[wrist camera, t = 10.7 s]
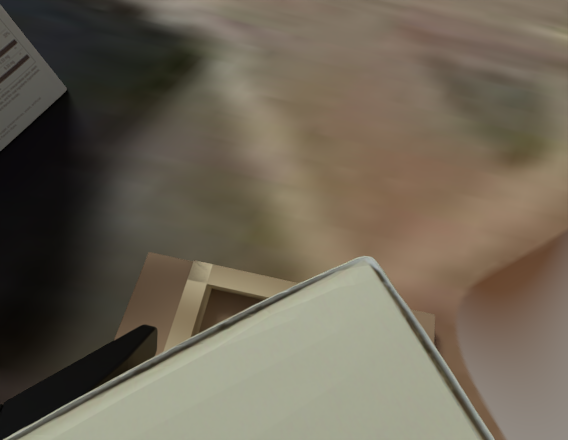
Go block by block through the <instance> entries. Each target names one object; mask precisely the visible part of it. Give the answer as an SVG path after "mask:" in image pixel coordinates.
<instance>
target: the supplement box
mask: <svg viewBox="0 0 568 440" xmlns="http://www.w3.org/2000/svg"><path fill="white" fill-rule="evenodd" d="M66 90H67V88H66V87H65V86H64V84H63V83H62V82H61V81H60V79H59V78H58V77H57V76H56V74H55V73H54V72H53V71H52V69H51V68H50V67H49V66H48V64H47V63H46V62H45V61H44V59H43V58H42V57H41V56H40V54H39V53H38V52H37V51H36V49H35V48H34V47H33V45H32V44H31V43H30V42H29V40H28V39H27V38H26V37H25V35H24V34H23V33H22V32H21V30H20V29H19V28H18V27H17V25H16V24H15V23H14V22H13V20H12V19H11V18H10V16H9V15H8V14H7V13H6V11H5V10H4V9H3V8H2V6H1V5H0V151H1V150H2V149H3V148H4V147H6V146H7V145H8V144H9V143H10V142H11V141H12V140H13V139H14V138H16V137H17V136H18V135H19V134H20V133H21V132H22V131H23V130H24V129H25V128H27V127H28V126H29V125H30V124H31V123H32V122H33V121H34V120H35V119H36V118H37V117H39V116H40V115H41V114H42V113H43V112H44V111H45V110H46V109H47V108H48V107H49V106H51V105H52V104H53V103H54V102H55V101H56V100H57V99H58V98H59V97H60V96H61V95H62V94H64V93H65V92H66Z"/></svg>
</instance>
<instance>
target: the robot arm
mask: <svg viewBox="0 0 568 440" xmlns="http://www.w3.org/2000/svg"><path fill="white" fill-rule="evenodd" d="M157 335H158V331H157V328H156V327H154V326H150V325H145V324H144V325H141V326H139V327H137V328H135V329H134V330H132V331H130V332H128V333H126V334H125V335H123V336H121V337H119V338H118V339H116V340H114V341H112V342H110V343H109V344H107V345H105V346H103V347H102V348H100V349H98V350H96V351H94V352H93V353H91V354H89V355H87V356H86V357H84V358H82V359H80V360H78V361H77V362H75V363H73V364H71V365H70V366H68V367H66V368H64V369H62V370H61V371H59V372H57V373H55V374H54V375H52V376H50V377H48V378H46V379H45V380H43V381H41V382H39V383H38V384H36V385H34V386H32V387H30V388H29V389H27V390H25V391H23V392H22V393H20V394H18V395H16V396H14V397H13V398H11V399H9V400H7V401H6V402H5V403H4V404H3V405H2V404H0V440H3V439H5V438H7V437H9V436H10V435H12V434H14V433H16V432H17V431H19V430H21V429H23V428H25V427H27V426H29V425H31V424H33V423H35V422H36V421H38V420H40V419H41V418H43V417H45V416H47V415H48V414H50V413H52V412H54V411H55V410H57V409H59V408H60V407H62V406H64V405H66V404H68V403H70V402H71V401H73V400H75V399H77V398H79V397H81V396H83V395H84V394H86V393H88V392H90V391H92V390H93V389H95V388H97V387H99V386H101V385H103V384H104V383H106V382H108V381H110V380H112V379H113V378H115V377H117V376H119V375H121V374H123V373H125V372H127V371H128V370H130V369H132V368H134V367H136V366H138V365H140V364H141V363H143V362H145V361H147V360H149V359H151V358H153V357H155V354H156V351H157Z"/></svg>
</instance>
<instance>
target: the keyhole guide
mask: <svg viewBox="0 0 568 440" xmlns="http://www.w3.org/2000/svg"><path fill="white" fill-rule="evenodd" d="M297 284H299V283H295V282H291V281H286V280H281V279H277V278H272V277H268V276H263V275H259V274H254V273H249V272H245V271H240V270H236V269H231V268H227V267H222V266H217V265H213V264H208V263H204V262H199V261H195V260H194V261H193V262H192V261H188V260H183V259H179V258H174V257H169V256H165V255H160V254H156V253H151V252H149V253H148V255H147V258H146V260H145V263H144V266H143V268H142V271H141V273H140V276H139V278H138V281H137V283H136V286H135V288H134V291H133V293H132V296H131V298H130V301H129V303H128V306H127V308H126V311H125V313H124V316H123V318H122V321H121V324H120V326H119V329H118V331H117V334H116V336H115V339H114V340H116V339H118V338H119V337H121V336H123V335H125V334H126V333H128V332H130V331H132V330H134V329H135V328H137V327H139V326H141V325H144V324H145V325H150V326H154V327H156V328H157V331H158V335H157V351H156V354H155V356H157V355H159V354H161V353H163V352H164V351H166V350H168V349H170V348H172V347H174V346H176V345H178V344H180V343H181V342H183V341H185V340H187V339H189V338H190V337H193V336H195V335H197V334H199V333H201V332H203V331H205V330H207V329H208V328H210V327H212V326H214V325H216V324H218V323H220V322H222V321H224V320H226V319H228V318H230V317H232V316H234V315H235V314H237V313H239V312H241V311H243V310H245V309H247V308H249V307H251V306H253V305H255V304H257V303H259V302H261V301H263V300H265V299H267V298H269V297H271V296H273V295H275V294H278V293H280V292H282V291H285V290H287V289H289V288H291V287H293V286H295V285H297ZM411 311H412V312H413V314H414V316H415V317H416V318H417V320H418V321H419V323H420V324H421V325H422V327H423V328H424V330H425V332H426V333H427V335H428V336H429V338H430V339H431V341H432V342H433V344H434V336H435V315H434V314H430V313H425V312H421V311H416V310H411Z"/></svg>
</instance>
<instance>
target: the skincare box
mask: <svg viewBox="0 0 568 440" xmlns="http://www.w3.org/2000/svg"><path fill="white" fill-rule="evenodd" d="M3 440H495V439H494V438H493V436H492V435H491V433H490V431H489V430H488V428H487V427H486V425H485V424H484V422H483V421H482V419H481V418H480V416H479V415H478V413H477V411H476V410H475V408H474V407H473V405H472V404H471V402H470V400H469V399H468V397H467V395H466V394H465V392H464V391H463V389H462V388H461V386H460V384H459V383H458V381H457V380H456V378H455V376H454V375H453V373H452V372H451V370H450V369H449V367H448V365H447V364H446V362H445V361H444V359H443V358H442V356H441V355H440V353H439V352H438V350H437V349H436V347H435V346H434V344H433V342H432V341H431V339H430V338H429V336H428V335H427V333H426V332H425V330H424V328H423V327H422V325H421V324H420V323H419V321H418V320H417V318H416V317H415V316H414V314H413V312H412V311H411V309H410V308H409V306H408V305H407V304H406V302H405V301H404V300H403V299H402V297H401V296H400V295H399V293H398V292H397V291H396V289H395V287H394V286H393V284H392V283H391V281H390V280H389V278H388V277H387V275H386V274H385V272H384V271H383V269H382V268H381V267H380V265H379V264H378V263H377V262H376V261H375V259H374V258H373V257H368V256H363V257H358V258H355V259H353V260H351V261H349V262H347V263H344V264H342V265H340V266H338V267H335V268H333V269H330V270H328V271H326V272H324V273H321V274H319V275H317V276H315V277H313V278H310V279H308V280H306V281H304V282H301V283H299V284H297V285H295V286H293V287H291V288H289V289H287V290H285V291H282V292H280V293H278V294H275V295H273V296H271V297H269V298H267V299H265V300H263V301H261V302H259V303H257V304H255V305H253V306H251V307H249V308H247V309H245V310H243V311H241V312H239V313H237V314H235V315H234V316H232V317H230V318H228V319H226V320H224V321H222V322H220V323H218V324H216V325H214V326H212V327H210V328H208V329H207V330H205V331H203V332H201V333H199V334H197V335H195V336H193V337H190V338H189V339H187V340H185V341H183V342H181V343H180V344H178V345H176V346H174V347H172V348H170V349H168V350H166V351H164V352H163V353H161V354H159V355H157V356H155V357H153V358H151V359H149V360H147V361H145V362H143V363H141V364H140V365H138V366H136V367H134V368H132V369H130V370H128V371H127V372H125V373H123V374H121V375H119V376H117V377H115V378H113V379H112V380H110V381H108V382H106V383H104V384H103V385H101V386H99V387H97V388H95V389H93V390H92V391H90V392H88V393H86V394H84V395H83V396H81V397H79V398H77V399H75V400H73V401H71V402H70V403H68V404H66V405H64V406H62V407H60V408H59V409H57V410H55V411H54V412H52V413H50V414H48V415H47V416H45V417H43V418H41V419H40V420H38V421H36V422H35V423H33V424H31V425H29V426H27V427H25V428H23V429H21V430H19V431H17V432H16V433H14V434H12V435H10V436H9V437H7V438H5V439H3Z"/></svg>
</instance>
